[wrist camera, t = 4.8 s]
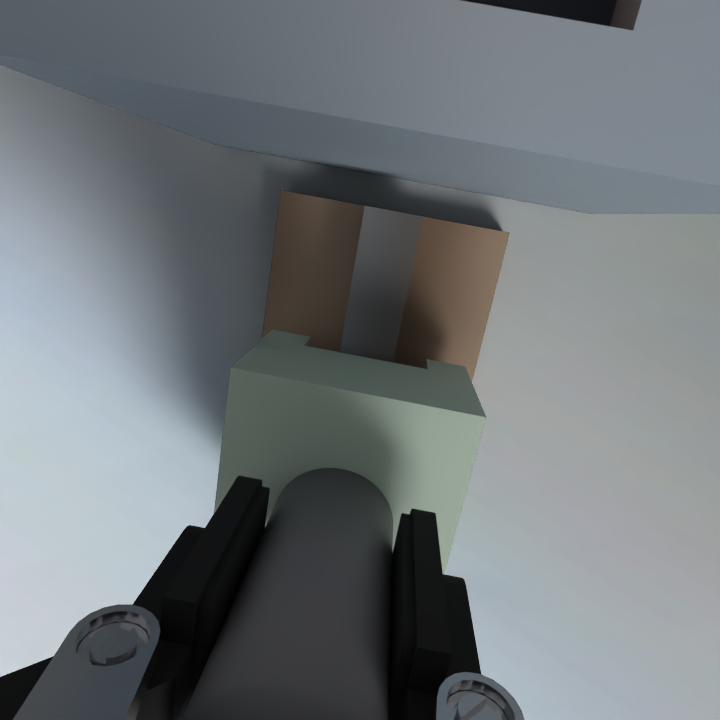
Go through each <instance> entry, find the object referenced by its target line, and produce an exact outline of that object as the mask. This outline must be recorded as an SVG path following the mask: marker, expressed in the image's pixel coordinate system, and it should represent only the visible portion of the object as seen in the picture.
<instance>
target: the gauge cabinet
mask: <svg viewBox="0 0 720 720" xmlns="http://www.w3.org/2000/svg"><path fill="white" fill-rule="evenodd" d="M0 65H2V66H5V67H8V68H11V69H13V70H16V71H19V72H21V73H24V74H27V75H29V76H32V77H35V78H37V79H40V80H43V81H45V82H48V83H51V84H54V85H56V86H59V87H62V88H64V89H67V90H70V91H72V92H75V93H78V94H80V95H83V96H86V97H89V98H91V99H94V100H97V101H99V102H102V103H105V104H107V105H110V106H113V107H115V108H118V109H121V110H123V111H126V112H129V113H132V114H134V115H137V116H140V117H142V118H145V119H148V120H150V121H153V122H156V123H158V124H161V125H164V126H167V127H169V128H172V129H175V130H177V131H180V132H183V133H185V134H188V135H191V136H193V137H196V138H199V139H201V140H204V141H207V142H210V143H212V144H215V145H220V146H226V147H231V148H237V149H242V150H248V151H253V152H258V153H264V154H269V155H275V156H280V157H286V158H291V159H296V160H302V161H307V162H313V163H318V164H324V165H329V166H334V167H340V168H345V169H351V170H356V171H362V172H367V173H372V174H378V175H383V176H389V177H394V178H400V179H405V180H410V181H416V182H421V183H427V184H432V185H438V186H443V187H448V188H454V189H459V190H465V191H470V192H476V193H481V194H486V195H492V196H497V197H503V198H508V199H514V200H519V201H524V202H530V203H535V204H541V205H546V206H552V207H557V208H563V209H568V210H573V211H579V212H584V213H590V214H720V0H0Z"/></svg>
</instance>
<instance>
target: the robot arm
mask: <svg viewBox="0 0 720 720" xmlns="http://www.w3.org/2000/svg"><path fill="white" fill-rule="evenodd" d="M269 493H270V488H269V487H264V486H262V480H261V479H255V478H250V477H245V476H240V475H239V476H238V477H237V478H236V479H235V481H234V483H233V484H232V486H231V487H230V489H229V491H228V492H227V494H226V496H225V497H224V499H223V500H222V502H221V504H220V505H219V507H218V508H217V510H216V512H215V513H214V515H213V516H212V518H211V520H210V521H209V523H208V524H207V526H206V528H201V527H196V526H191V525H190V526H187V527H186V528H185V530H184V531H183V532H182V534H181V535H180V536H179V538H178V539H177V541H176V542H175V544H174V545H173V547H172V548H171V550H170V551H169V553H168V554H167V555H166V557H165V558H164V560H163V561H162V563H161V564H160V566H159V567H158V569H157V570H156V571H155V573H154V574H153V576H152V577H151V579H150V580H149V582H148V583H147V585H146V586H145V587H144V589H143V590H142V592H141V593H140V595H139V596H138V598H137V599H136V601H135V602H134V603H133V605H114V606H109V607H104V608H102V609H99V610H97V611H95V612H92V613H90V614H89V615H87V616H86V617H84V618H83V619H82V620H80V621H79V622H78V623H77V624H76V625H75V626H74V627H73V629H72V630H71V631H70V632H69V634H68V635H67V637H66V638H65V640H64V641H63V643H62V644H61V646H60V647H59V649H58V651H57V652H56V654H55V655H54V656H53V657H51V658H48V659H46V660H43V661H41V662H38V663H35V664H33V665H30V666H28V667H25V668H22V669H20V670H17V671H15V672H12V673H10V674H7V675H4V676H2V677H0V720H182V718H183V716H184V713H185V711H186V709H187V706H188V704H189V702H190V700H191V697H192V695H193V693H194V690H195V688H196V686H197V683H198V681H199V679H200V676H201V674H202V672H203V670H204V667H205V665H206V663H207V660H208V658H209V656H210V653H211V651H212V649H213V646H214V644H215V642H216V640H217V637H218V635H219V633H220V630H221V628H222V626H223V623H224V621H225V619H226V617H227V614H228V612H229V610H230V607H231V605H232V603H233V600H234V598H235V596H236V593H237V591H238V589H239V587H240V584H241V582H242V580H243V577H244V575H245V573H246V570H247V568H248V566H249V564H250V561H251V559H252V557H253V554H254V552H255V550H256V547H257V545H258V543H259V540H260V538H261V536H262V534H263V531H264V529H265V523H266V516H267V508H268V501H269ZM388 720H524V717H523V714H522V710H521V709H520V707H519V706H518V704H517V702H516V701H515V699H514V698H513V697H512V696H511V694H510V693H509V692H508V691H507V690H506V689H505V688H504V687H502V686H501V685H500V684H498V683H497V682H495V681H494V680H492V679H490V678H488V677H485V676H483V675H481V671H480V665H479V659H478V653H477V647H476V642H475V636H474V630H473V624H472V618H471V613H470V607H469V601H468V595H467V589H466V584H465V581H464V579H463V578H459V577H454V576H449V575H444V574H443V572H442V563H441V555H440V546H439V537H438V528H437V520H436V513H434V512H429V511H423V510H418V509H413V508H412V509H411V511H410V514H405V513H402V514H401V517H400V521H399V526H398V531H397V535H396V540H395V544H394V549H393V553H392V590H391V628H390V666H389V712H388Z"/></svg>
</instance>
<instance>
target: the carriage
mask: <svg viewBox="0 0 720 720" xmlns="http://www.w3.org/2000/svg"><path fill="white" fill-rule="evenodd" d="M310 339H311V337H309V336H304V335H299V334H294V333H289V332H283V331H278V330H273V329H272V330H271V331H270V332H269V333H268V334H267V335H266V336H265V337H264V338H262V339H261V340H260V341H259V342H258V343H257V344H256V345H255V346H254V347H252V348H251V349H250V350H249V351H248V352H247V353H246V354H245V355H244V356H242V357H241V358H240V359H239V360H238V361H237V362H236V363H235V364H234V365H232V366H231V367H230V374H229V383H228V392H227V401H226V410H225V419H224V428H223V437H222V446H221V455H220V464H219V473H218V482H217V491H216V500H215V509H214V513H215V512H216V510H217V508H218V507H219V505H220V504H221V502H222V500H223V499H224V497H225V496H226V494H227V492H228V491H229V489H230V487H231V486H232V484H233V483H234V481H235V479H236V478H237V477H238V476H239V475H240V476H245V477H250V478H255V479H261V480H262V486H264V487H269V488H270V493H269V501H268V508H267V516H266V523H265V529H264V531H263V534H262V536H261V538H260V540H259V543H258V545H257V547H256V550H255V552H254V554H253V557H252V559H251V561H250V564H249V566H248V568H247V570H246V573H245V575H244V577H243V580H242V582H241V584H240V587H239V589H238V591H237V593H236V596H235V598H234V600H233V603H232V605H231V607H230V610H229V612H228V614H227V617H226V619H225V621H224V623H223V626H222V628H221V630H220V633H219V635H218V637H217V640H216V642H215V644H214V646H213V649H212V651H211V653H210V656H209V658H208V660H207V663H206V665H205V667H204V670H203V672H202V674H201V676H200V679H199V681H198V683H197V686H196V688H195V690H194V693H193V695H192V697H191V700H190V702H189V704H188V706H187V709H186V711H185V713H184V716H183V718H182V720H388V712H389V666H390V628H391V590H392V553H393V549H394V544H395V540H396V535H397V531H398V526H399V521H400V517H401V514H402V513H405V514H410V511H411V509H412V508H413V509H418V510H423V511H429V512H434V513H436V520H437V528H438V537H439V546H440V555H441V563H442V572H443V574H444V573H445V569H446V566H447V562H448V558H449V554H450V551H451V547H452V543H453V540H454V536H455V532H456V528H457V525H458V521H459V517H460V513H461V510H462V506H463V502H464V498H465V495H466V491H467V487H468V483H469V480H470V476H471V472H472V468H473V465H474V461H475V457H476V454H477V450H478V446H479V442H480V439H481V435H482V431H483V427H484V424H485V420H486V416H485V413H484V411H483V408H482V406H481V404H480V401H479V399H478V397H477V394H476V392H475V389H474V387H473V385H472V382H471V380H470V377H469V375H468V373H467V370H466V368H465V366H460V365H455V364H450V363H444V362H439V361H434V360H429V359H426V362H425V367H424V369H423V368H418V367H413V366H408V365H403V364H397V363H392V362H387V361H382V360H377V359H372V358H366V357H361V356H356V355H351V354H346V353H340V352H335V351H330V350H325V349H320V348H315V347H309V345H310Z"/></svg>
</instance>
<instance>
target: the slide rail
mask: <svg viewBox="0 0 720 720" xmlns="http://www.w3.org/2000/svg"><path fill="white" fill-rule="evenodd" d="M508 237H509V232H503V231H498V230H493V229H487V228H482V227H477V226H471V225H466V224H460V223H455V222H450V221H444V220H439V219H433V218H428V217H423V216H418V215H413V214H407V213H402V212H397V211H391V210H386V209H380V208H375V207H370V206H363V205H358V204H353V203H347V202H342V201H337V200H331V199H326V198H320V197H315V196H310V195H304V194H299V193H294V192H288V191H283V190H281V193H280V200H279V208H278V216H277V224H276V232H275V240H274V247H273V255H272V263H271V271H270V279H269V287H268V294H267V302H266V310H265V318H264V326H263V334H262V338H264V337H265V336H266V335H267V334H268V333H269V332H270V331H271V330H272V329H273V330H278V331H283V332H289V333H294V334H299V335H304V336H309V337H311V339H310V345H309V347H315V348H320V349H325V350H330V351H335V352H340V353H346V354H351V355H356V356H361V357H366V358H372V359H377V360H382V361H387V362H392V363H397V364H403V365H408V366H413V367H418V368H423V369H424V367H425V362H426V359H429V360H434V361H439V362H444V363H450V364H455V365H460V366H465V368H466V370H467V373H468V375H469V377H470V380H471V382H472V379H473V375H474V371H475V367H476V363H477V359H478V356H479V352H480V348H481V344H482V340H483V336H484V332H485V328H486V324H487V320H488V316H489V312H490V308H491V304H492V300H493V296H494V292H495V288H496V285H497V281H498V277H499V273H500V269H501V265H502V261H503V257H504V253H505V249H506V245H507V241H508Z"/></svg>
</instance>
